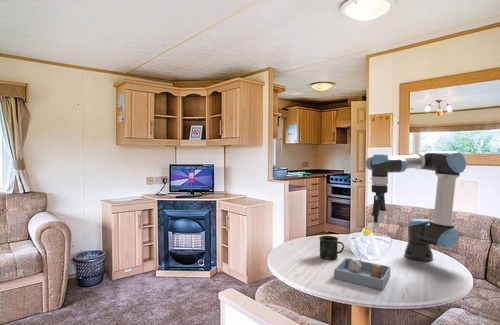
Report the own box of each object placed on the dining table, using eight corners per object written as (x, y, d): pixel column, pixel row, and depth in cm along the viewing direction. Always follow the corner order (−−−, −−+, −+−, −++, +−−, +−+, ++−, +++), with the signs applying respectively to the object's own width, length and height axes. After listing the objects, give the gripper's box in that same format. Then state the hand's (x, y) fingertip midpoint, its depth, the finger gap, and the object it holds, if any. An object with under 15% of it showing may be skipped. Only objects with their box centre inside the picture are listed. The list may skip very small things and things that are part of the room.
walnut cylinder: (371, 276, 159) (371, 263, 158) (381, 278, 156) (382, 265, 156) (369, 280, 155) (369, 266, 154) (379, 282, 152) (380, 268, 151)
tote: (345, 266, 173) (345, 257, 173) (390, 276, 161) (390, 266, 160) (334, 278, 158) (334, 269, 157) (382, 290, 145) (383, 280, 144)
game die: (356, 283, 160) (355, 272, 154) (343, 272, 166) (342, 261, 160) (367, 272, 163) (367, 261, 157) (354, 261, 169) (354, 251, 163)
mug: (319, 253, 194) (319, 235, 194) (343, 255, 191) (343, 236, 191) (319, 260, 184) (319, 240, 183) (344, 261, 181) (344, 241, 180)
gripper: (376, 181, 170) (376, 220, 171) (365, 186, 149) (365, 230, 150) (391, 182, 165) (391, 221, 166) (382, 188, 145) (381, 232, 146)
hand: (378, 225), depth 158 cm, fingers open, 13 cm apart
